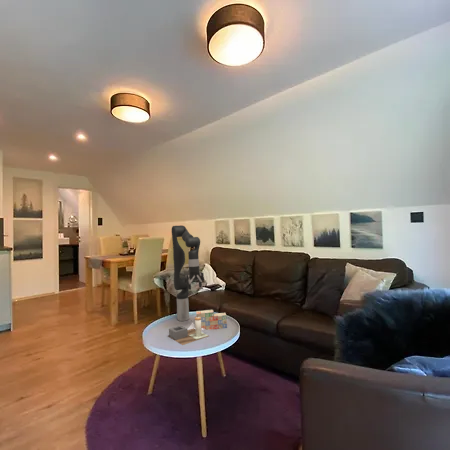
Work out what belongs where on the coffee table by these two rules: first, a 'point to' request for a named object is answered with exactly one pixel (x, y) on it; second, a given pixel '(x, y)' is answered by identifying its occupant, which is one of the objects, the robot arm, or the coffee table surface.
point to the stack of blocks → (212, 319)
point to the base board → (190, 337)
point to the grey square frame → (178, 332)
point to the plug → (198, 326)
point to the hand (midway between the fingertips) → (195, 288)
